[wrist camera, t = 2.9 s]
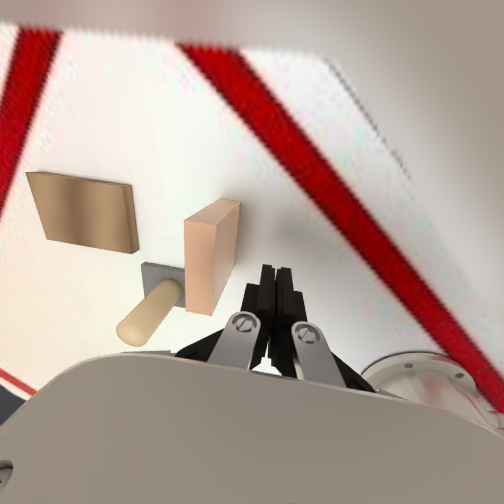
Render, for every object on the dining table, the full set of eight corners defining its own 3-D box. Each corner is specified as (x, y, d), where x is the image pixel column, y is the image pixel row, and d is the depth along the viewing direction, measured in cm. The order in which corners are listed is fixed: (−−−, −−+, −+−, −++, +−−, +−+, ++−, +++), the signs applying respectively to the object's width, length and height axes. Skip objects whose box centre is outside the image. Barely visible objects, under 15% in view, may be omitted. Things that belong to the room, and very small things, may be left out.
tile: (240, 201, 19) (216, 225, 12) (234, 265, 22) (211, 315, 15) (218, 198, 20) (181, 220, 12) (215, 262, 22) (183, 310, 15)
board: (131, 185, 20) (122, 186, 19) (138, 249, 23) (131, 254, 22) (38, 171, 21) (25, 172, 20) (57, 235, 24) (46, 239, 23)
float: (203, 271, 23) (169, 320, 16) (202, 306, 25) (171, 362, 18) (145, 261, 24) (87, 304, 17) (148, 296, 26) (98, 347, 19)
